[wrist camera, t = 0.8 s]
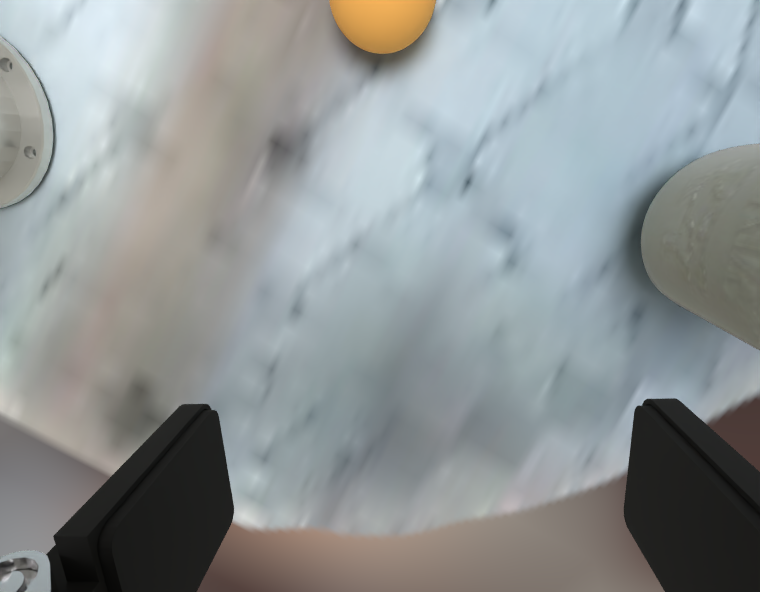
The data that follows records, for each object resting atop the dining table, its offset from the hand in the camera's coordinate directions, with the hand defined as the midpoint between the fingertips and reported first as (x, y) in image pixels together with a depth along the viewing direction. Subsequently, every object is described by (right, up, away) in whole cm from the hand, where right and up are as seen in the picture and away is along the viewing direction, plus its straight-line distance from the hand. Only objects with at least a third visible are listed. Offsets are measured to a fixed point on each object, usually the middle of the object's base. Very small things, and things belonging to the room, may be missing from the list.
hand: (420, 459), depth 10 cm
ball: (-1, +21, +15) cm, 26 cm away
